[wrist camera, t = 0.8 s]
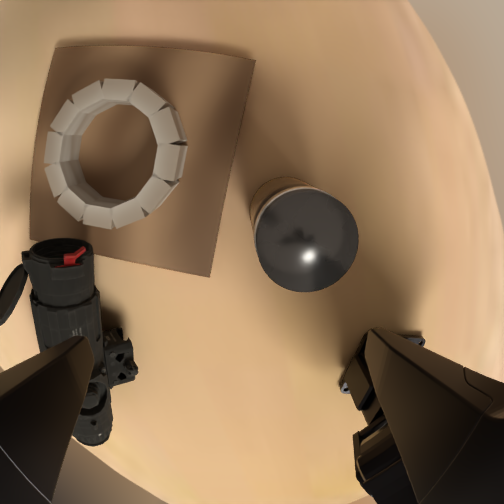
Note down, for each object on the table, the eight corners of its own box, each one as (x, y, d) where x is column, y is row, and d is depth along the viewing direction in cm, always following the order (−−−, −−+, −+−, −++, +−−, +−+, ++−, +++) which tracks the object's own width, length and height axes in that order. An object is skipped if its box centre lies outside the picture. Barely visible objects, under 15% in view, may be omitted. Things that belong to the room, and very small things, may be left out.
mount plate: (254, 64, 17) (258, 48, 14) (210, 271, 21) (206, 294, 18) (62, 51, 15) (37, 39, 12) (36, 235, 20) (10, 249, 16)
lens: (328, 185, 20) (371, 205, 13) (310, 252, 21) (341, 299, 15) (258, 168, 19) (269, 179, 13) (242, 239, 21) (245, 283, 14)
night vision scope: (115, 388, 28) (28, 409, 21) (106, 215, 22) (-14, 225, 16) (151, 442, 22) (49, 473, 15) (146, 245, 17) (-26, 264, 10)
